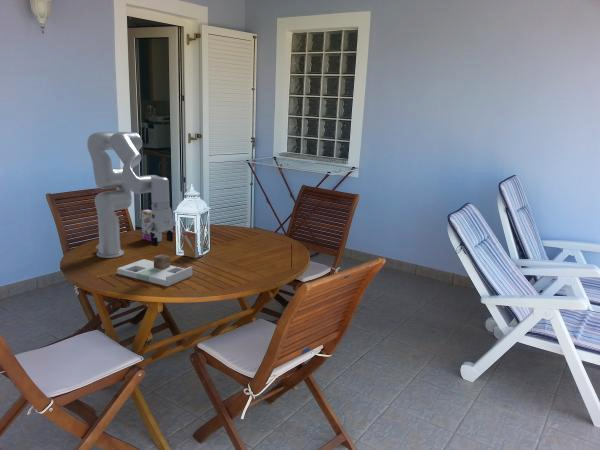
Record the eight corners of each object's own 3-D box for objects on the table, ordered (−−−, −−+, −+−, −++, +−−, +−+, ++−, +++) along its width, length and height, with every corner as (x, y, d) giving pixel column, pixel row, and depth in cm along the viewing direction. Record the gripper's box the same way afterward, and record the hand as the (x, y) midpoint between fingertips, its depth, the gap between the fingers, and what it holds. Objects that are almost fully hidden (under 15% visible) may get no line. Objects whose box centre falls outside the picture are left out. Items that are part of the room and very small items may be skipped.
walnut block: (153, 267, 219) (153, 256, 217) (161, 264, 223) (161, 254, 222) (162, 269, 216) (162, 258, 215) (170, 266, 221) (169, 256, 220)
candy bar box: (141, 239, 271) (140, 210, 267) (148, 237, 275) (147, 209, 271) (155, 243, 265) (154, 213, 261) (162, 241, 269) (161, 212, 265)
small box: (182, 255, 246) (182, 230, 243) (191, 252, 251) (191, 228, 248) (195, 258, 242) (195, 233, 239) (203, 255, 247) (203, 230, 244)
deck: (117, 273, 216) (117, 264, 215) (143, 264, 230) (143, 255, 229) (167, 286, 204) (167, 277, 203) (192, 275, 218) (192, 266, 217)
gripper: (153, 209, 204) (154, 249, 207) (180, 203, 219) (181, 240, 222) (139, 207, 207) (141, 246, 211) (167, 201, 222) (169, 238, 226)
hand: (162, 243), depth 217 cm, fingers open, 9 cm apart
